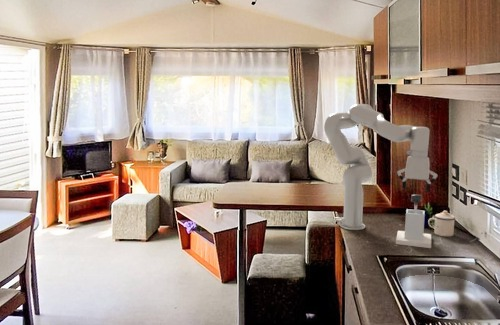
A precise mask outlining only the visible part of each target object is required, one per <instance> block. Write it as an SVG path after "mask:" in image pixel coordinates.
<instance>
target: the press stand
mask: <svg viewBox="0 0 500 325" xmlns="http://www.w3.org/2000/svg"><path fill="white" fill-rule="evenodd" d="M405 212H406V213H405V222H404V224H405V226H404V230H397V234H396V238H395V244H396V245H400V246H410V247H418V248H425V249H426V248H427V249H431V248H432V233H426V232H425V233H424V231H425V216H426V214H425V212H426V211H425V210H420V209H417V214H414V209H408V208H406V210H405Z"/></svg>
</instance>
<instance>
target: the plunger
mask: <svg viewBox="0 0 500 325" xmlns="http://www.w3.org/2000/svg"><path fill="white" fill-rule="evenodd" d="M422 195H423V194H418V193H417V194H416V193H413V194H411V196H410V202H411V203H413V204H414V205H413V206H414V207H413V208H414V209H413V210H414V214H417V210H418V204H420V203H422Z"/></svg>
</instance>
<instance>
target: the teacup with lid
mask: <svg viewBox="0 0 500 325" xmlns="http://www.w3.org/2000/svg"><path fill="white" fill-rule="evenodd" d="M427 220H428V221H427V223H428V226H429V227H430V228H432V229H434V232H433V233H434V234H435V235H437V236H441V237H447V238H448V237H452V236H454V234H455V233H454V231H455V230H454V229H455V221H456V216H454V215H453V214H451V213H449V212H448V210H443V211H442V212H440V213H436V214H435V215H434V217H430V218H429V219H427ZM432 220H434V226H433V225H432V224H431V221H432Z"/></svg>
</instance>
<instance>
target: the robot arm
mask: <svg viewBox="0 0 500 325" xmlns="http://www.w3.org/2000/svg"><path fill="white" fill-rule="evenodd" d="M358 125H363V126H365V127H367V128H369V129H371V130H373V131H374V132H375V133H377V134H378V135H379V136H381V137H383V138H385V139H387V140H389V141H391V142H394V143H402V142H410V148H409V150H406V154H407V155H408V156H407V159H406V163H405V164H406V165H405V168H403V169H400V170H397V175H398V178H399V179H400V180H401V181H402V187H401V188H402V189H403V191H406V190H407V188H406V187H407V181H408V179H409V180H420V181H426V186H425V187H426V188H425V193H429V192H428V191H430V189H431V184H432V183H433V182H435V180H436V179H437V178H438V177H439V176H438V174H437V173H435V172H434V171H432V170H430V157H428V152H429V143H430V128H429V127H427V126H415V125H410V124H401V125H398V124H394V123H392V122H390V121H388V120H386V119H385V117H384V114H383V113H382V112H379V111H376V110H375V109H374V108H373V107H372V105H371V104H367V103H356V104H353V105H352V106H351V107H349V110H348V111H347V112H346V111H345V112H335V113H331V114H329V116H328V117H326V119H325V121H324V126H323V127H324V128H323V129H324V132H325V136H326V137H327V139H328V141H329V144H330V146H331V147H332V148H331V149H332V150H333V152H334V154H335V157H336V159H337V161H338V163H339V164H340V165H342V166H349V167H347V168H346V169H345V170H344V171H343V175H342V181H343V188H344V189H343V190H344V192H343V194H344V195H343V217H342V216H341V217H338V216H335V217H334V221H335V222H337V223H339V226H340V227H341V228H342V229H345V230H350V231H361V230H364V229H365V228H366V225H365V224H364V223H363V212H364V211H363V208H364V189H363V184H364V183H367V182H369V181H370V180H371V179H372V177H373V170H372V168H371V165H370V163H369V161H368V159H367V157H366V155H365V152H364V151H363V150H362V148H361V147H360V146H357V145H350V143H349V141H348V139H347V136H346V135H345V134H344V133H343V132H342V130H344V129H345V130H346V129H350V128H353V127H355V126H358ZM401 173H402V174H403V173H404V176H403V175H402V174H401ZM430 175H431V176H432V177H431V179H430Z"/></svg>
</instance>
